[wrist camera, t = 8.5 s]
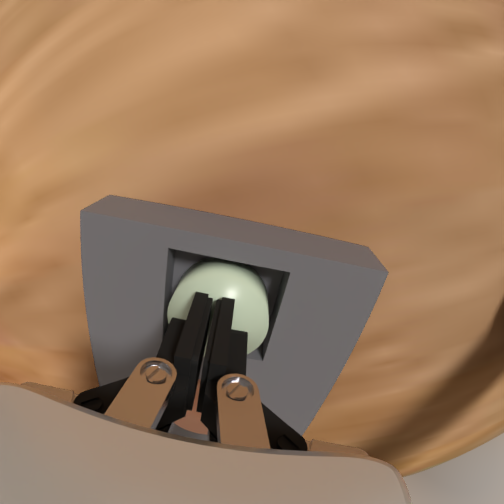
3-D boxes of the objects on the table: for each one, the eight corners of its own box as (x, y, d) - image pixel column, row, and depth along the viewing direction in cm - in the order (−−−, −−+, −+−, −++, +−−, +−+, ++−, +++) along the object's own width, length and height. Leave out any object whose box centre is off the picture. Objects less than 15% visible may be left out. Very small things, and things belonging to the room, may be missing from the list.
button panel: (367, 246, 15) (388, 272, 12) (269, 454, 24) (270, 479, 21) (109, 194, 14) (80, 210, 12) (126, 426, 23) (118, 450, 20)
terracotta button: (245, 377, 17) (244, 402, 15) (234, 416, 18) (231, 439, 16) (173, 362, 16) (165, 386, 14) (171, 404, 18) (165, 426, 16)
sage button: (277, 267, 14) (280, 289, 12) (257, 340, 15) (256, 366, 13) (182, 248, 13) (170, 267, 11) (175, 324, 15) (165, 348, 13)
